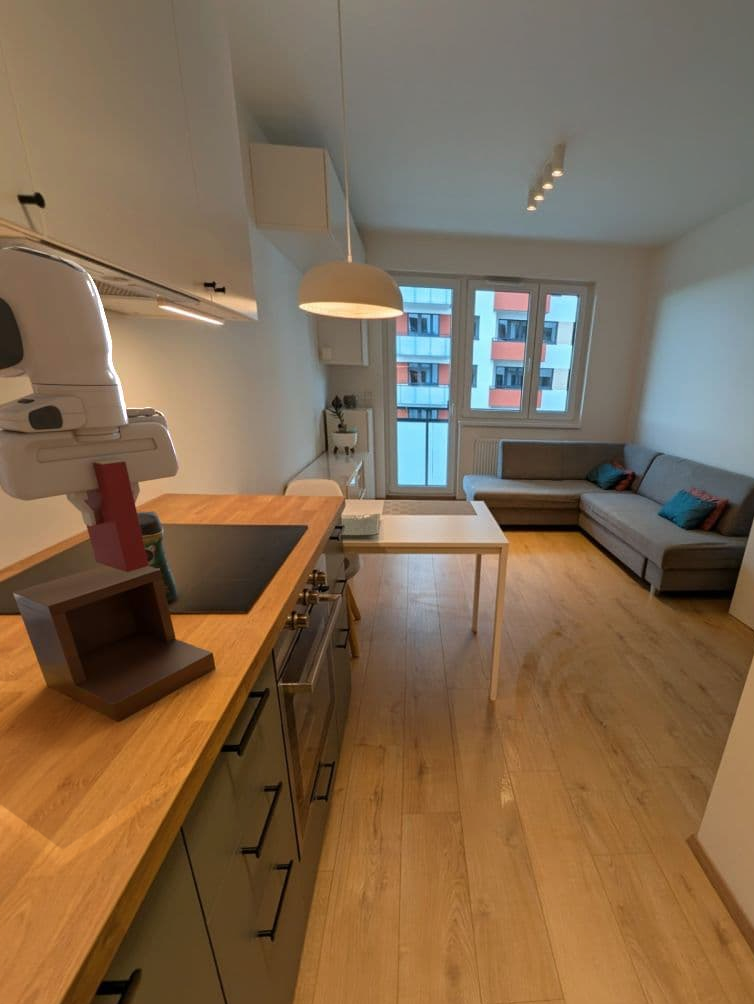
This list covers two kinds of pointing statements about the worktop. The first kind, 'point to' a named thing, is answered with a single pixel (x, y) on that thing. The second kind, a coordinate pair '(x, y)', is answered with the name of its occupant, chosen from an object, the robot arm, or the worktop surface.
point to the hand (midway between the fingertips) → (111, 520)
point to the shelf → (109, 639)
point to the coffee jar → (157, 550)
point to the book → (116, 519)
